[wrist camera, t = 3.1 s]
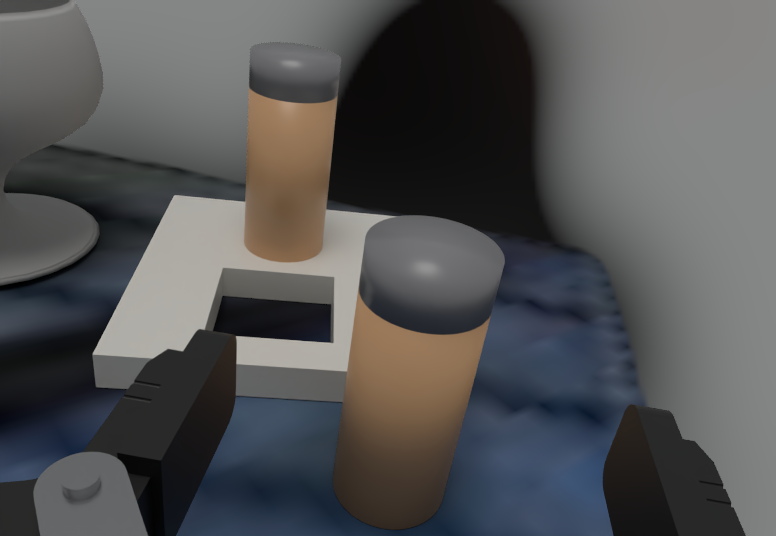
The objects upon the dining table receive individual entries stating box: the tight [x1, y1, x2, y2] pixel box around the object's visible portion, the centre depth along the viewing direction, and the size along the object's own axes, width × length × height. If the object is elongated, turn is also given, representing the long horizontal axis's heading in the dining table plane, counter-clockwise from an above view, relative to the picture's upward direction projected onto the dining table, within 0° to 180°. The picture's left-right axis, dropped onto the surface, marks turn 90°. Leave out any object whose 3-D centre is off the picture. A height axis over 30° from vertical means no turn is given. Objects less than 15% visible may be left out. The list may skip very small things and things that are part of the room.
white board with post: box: [93, 42, 396, 402], centre depth 37 cm, size 16×18×14 cm
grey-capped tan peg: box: [333, 216, 505, 530], centre depth 27 cm, size 5×5×12 cm
